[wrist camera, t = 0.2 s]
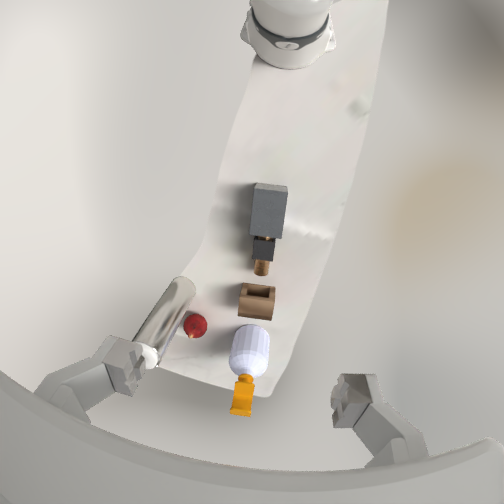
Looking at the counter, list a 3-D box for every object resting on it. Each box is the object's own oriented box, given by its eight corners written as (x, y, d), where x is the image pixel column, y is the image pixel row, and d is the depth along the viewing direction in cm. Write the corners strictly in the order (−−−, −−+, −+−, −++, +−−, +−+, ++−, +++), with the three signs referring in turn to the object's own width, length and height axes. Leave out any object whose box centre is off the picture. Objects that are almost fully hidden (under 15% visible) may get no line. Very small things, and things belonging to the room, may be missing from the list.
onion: (192, 304, 67) (183, 323, 59) (213, 314, 67) (206, 334, 60) (185, 319, 69) (175, 339, 62) (205, 329, 69) (197, 349, 62)
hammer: (261, 190, 54) (259, 195, 49) (281, 192, 54) (281, 198, 48) (252, 267, 60) (249, 279, 55) (270, 269, 60) (269, 281, 55)
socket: (243, 282, 63) (239, 297, 57) (275, 287, 62) (274, 301, 57) (241, 300, 65) (237, 316, 59) (272, 305, 64) (271, 320, 59)
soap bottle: (271, 326, 67) (266, 405, 44) (266, 352, 71) (259, 428, 48) (236, 321, 67) (217, 398, 45) (233, 347, 71) (216, 422, 48)
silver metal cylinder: (180, 302, 67) (141, 374, 44) (166, 282, 65) (119, 348, 42) (201, 294, 65) (166, 368, 42) (186, 272, 63) (142, 341, 40)
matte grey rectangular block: (256, 182, 54) (254, 188, 48) (286, 186, 53) (287, 192, 48) (252, 224, 57) (249, 234, 51) (281, 228, 57) (281, 238, 51)
